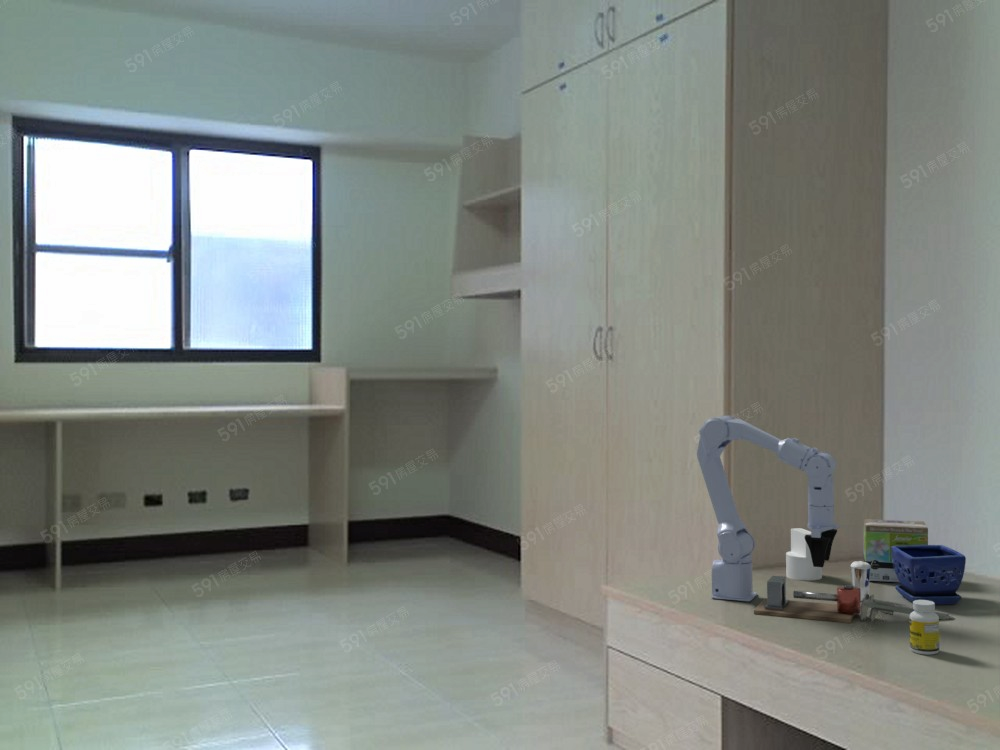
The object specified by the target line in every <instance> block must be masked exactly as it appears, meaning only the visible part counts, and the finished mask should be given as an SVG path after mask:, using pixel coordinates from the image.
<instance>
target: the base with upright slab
mask: <svg viewBox="0 0 1000 750" xmlns="http://www.w3.org/2000/svg"><path fill="white" fill-rule="evenodd" d="M805 535H811V530H808V529H804V528H801V527H799V528H798V527H795V528H790V551H786V552H785V563H786V564H785V565H786V566H785V567H786V570H785V571H786V574H785V575H786V576H785V577H786V578H788V579H790V580H797V581H807V582H808V581H817V580H821V579H823V567H814V566H813V562H812V558H811V553H810V549H809V547H808V544H807V542H806V541H805Z"/></svg>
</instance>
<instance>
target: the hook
mask: <svg viewBox="0 0 1000 750" xmlns="http://www.w3.org/2000/svg"><path fill="white" fill-rule="evenodd" d="M793 598H794V599H801V600H802V599H805V600H813V601H814V600H815V601H825V602H826V601H827V602H836V604H837V611H839V612H841V613H847V614H855V615H856V614H861V603H862V601H861V589H860V588H858V587H853V584H844V585H841V586H837V588H836V593H827V592H826V593H825V592H824V593H823V592H815V591H802V590H801V591H800V590H793Z"/></svg>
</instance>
